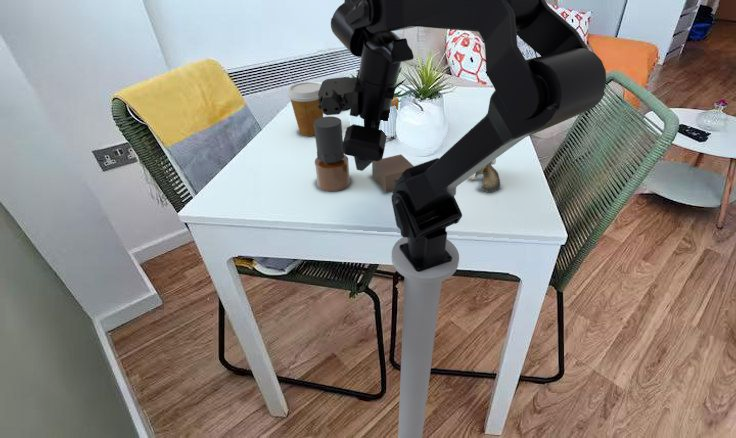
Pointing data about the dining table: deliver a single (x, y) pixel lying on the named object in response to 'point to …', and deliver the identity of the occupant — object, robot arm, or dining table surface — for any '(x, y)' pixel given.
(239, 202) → the dining table surface
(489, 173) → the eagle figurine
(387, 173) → the stand
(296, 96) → the disposable coffee cup
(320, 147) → the cap
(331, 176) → the bottle
